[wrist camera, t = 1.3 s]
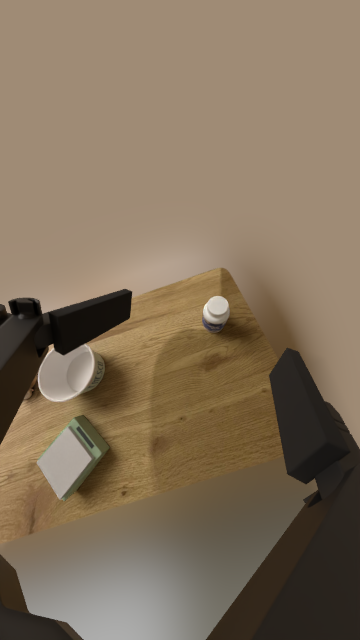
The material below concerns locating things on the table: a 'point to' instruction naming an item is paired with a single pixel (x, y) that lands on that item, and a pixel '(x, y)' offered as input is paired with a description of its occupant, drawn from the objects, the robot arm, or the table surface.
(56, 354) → the food container
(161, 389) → the table surface
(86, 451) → the scale
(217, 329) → the pill bottle
